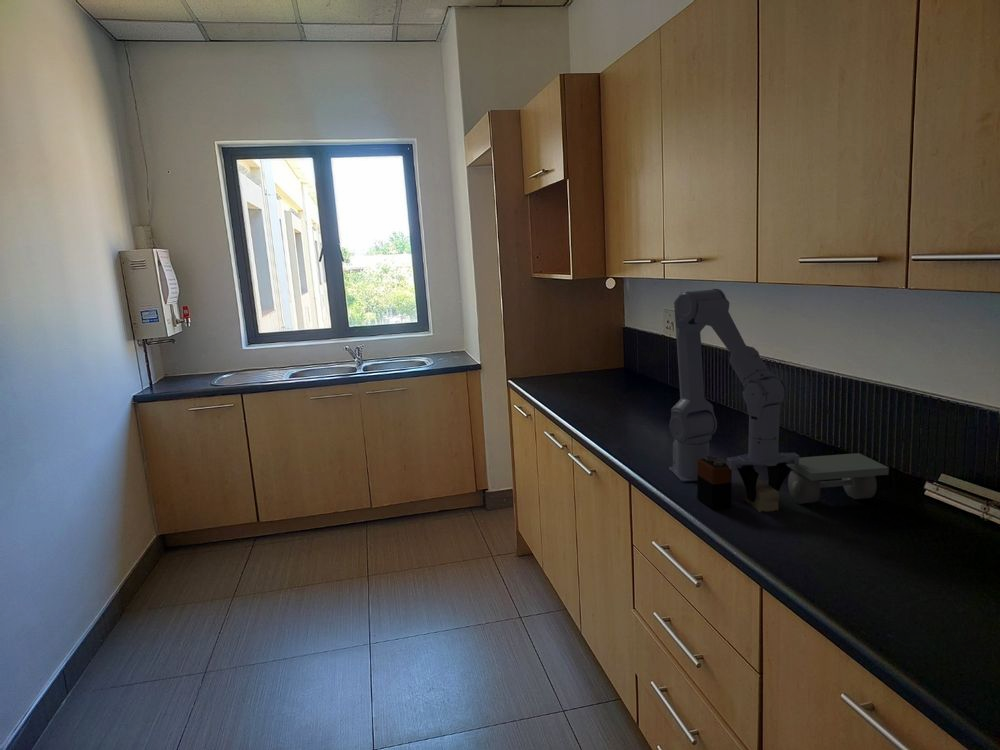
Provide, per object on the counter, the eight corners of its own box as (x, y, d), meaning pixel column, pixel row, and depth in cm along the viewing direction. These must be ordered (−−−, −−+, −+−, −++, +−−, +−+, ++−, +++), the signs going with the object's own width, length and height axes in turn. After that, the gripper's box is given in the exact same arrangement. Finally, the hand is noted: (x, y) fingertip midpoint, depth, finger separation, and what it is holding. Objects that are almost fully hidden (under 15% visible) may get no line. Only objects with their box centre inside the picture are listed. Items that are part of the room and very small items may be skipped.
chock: (745, 500, 136) (746, 483, 135) (763, 499, 136) (764, 481, 136) (759, 511, 130) (759, 493, 129) (778, 510, 130) (778, 491, 130)
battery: (713, 510, 132) (713, 464, 130) (696, 499, 138) (696, 454, 136) (732, 508, 133) (732, 462, 131) (714, 496, 139) (715, 452, 137)
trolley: (785, 496, 137) (786, 458, 136) (856, 490, 138) (858, 453, 137) (809, 514, 128) (811, 473, 126) (886, 507, 129) (888, 467, 127)
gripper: (737, 444, 126) (736, 509, 129) (808, 438, 127) (805, 503, 130) (722, 434, 133) (721, 496, 135) (789, 429, 134) (787, 490, 136)
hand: (761, 499), depth 133 cm, fingers closed on chock, 4 cm apart
